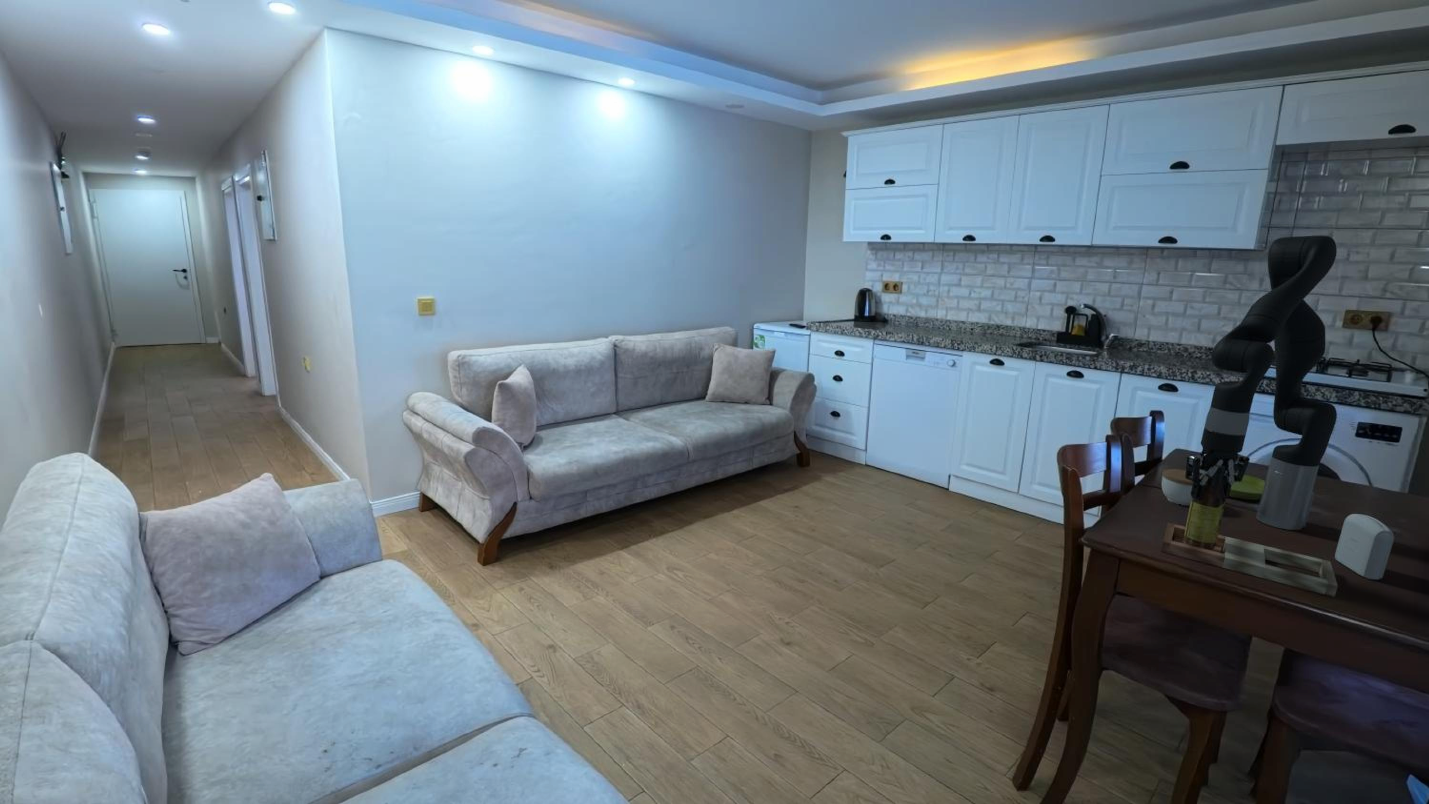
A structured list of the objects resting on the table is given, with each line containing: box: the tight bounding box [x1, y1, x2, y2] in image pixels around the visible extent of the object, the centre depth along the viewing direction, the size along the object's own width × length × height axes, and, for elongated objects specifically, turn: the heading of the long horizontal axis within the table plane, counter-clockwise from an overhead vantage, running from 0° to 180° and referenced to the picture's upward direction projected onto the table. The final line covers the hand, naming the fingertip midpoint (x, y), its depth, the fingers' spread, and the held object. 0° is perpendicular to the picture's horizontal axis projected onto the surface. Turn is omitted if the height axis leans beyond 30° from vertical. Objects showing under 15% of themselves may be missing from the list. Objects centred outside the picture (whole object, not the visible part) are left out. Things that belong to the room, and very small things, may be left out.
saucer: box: [1202, 469, 1266, 501], centre depth 193 cm, size 21×21×3 cm
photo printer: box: [1334, 513, 1395, 581], centre depth 145 cm, size 10×4×12 cm, turn 168°
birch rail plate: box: [1160, 522, 1339, 598], centre depth 148 cm, size 30×14×2 cm, turn 52°
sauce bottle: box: [1184, 466, 1227, 550], centre depth 151 cm, size 6×6×20 cm
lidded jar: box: [1161, 468, 1203, 507], centre depth 182 cm, size 11×11×9 cm
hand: (1208, 498), depth 150 cm, fingers closed on sauce bottle, 6 cm apart
